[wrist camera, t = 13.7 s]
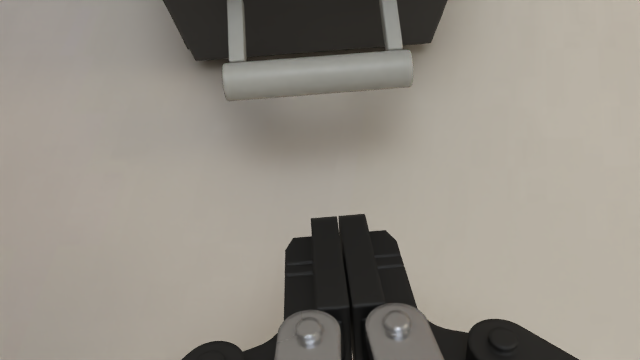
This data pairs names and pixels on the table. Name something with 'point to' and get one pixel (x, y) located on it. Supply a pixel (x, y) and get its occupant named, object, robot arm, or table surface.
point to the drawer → (307, 42)
